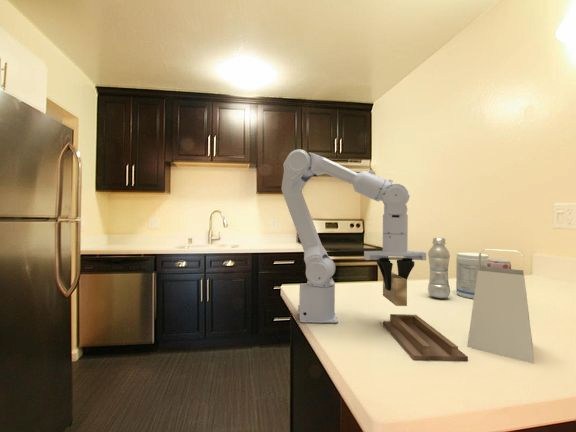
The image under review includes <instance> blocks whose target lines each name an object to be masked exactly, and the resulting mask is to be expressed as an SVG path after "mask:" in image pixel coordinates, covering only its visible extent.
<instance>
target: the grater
mask: <svg viewBox="0 0 576 432" xmlns="http://www.w3.org/2000/svg"><path fill="white" fill-rule="evenodd" d="M485 250H486V251H498V252H499V251H500V252H501V251H502V252H515V253H516V252H517V253H519V255H520V256H521V257H522V258H524V255H523V253H521V252H520V251H519V250H516V249H500V248H484V249H483V250H482V252H484V251H485ZM482 252H479V253H480V254H479V270H478V273H477V280H476V287H475V294H474V299H473V302H472V309H471V316H470V324H469V331H468V337H467V344H466V345H467V346H466V347H467V348H471V349H474V350H479V351H482V352H485V353H490V354H494V355H499V356H503V357H505V358H510V359H514V360H518V361H522V362H527V363H530V364H534V363H535V361H534V345H533V344H534V343H533V335H532V330H531V329H532V328H531V320H530V312H529V304H528V296H527V287H526V286H527V285H526V280H525V270H524V263H525V262H524V260H523V269H513V268H511V269H504V268H494V267H483V266H482V267H481V254H482Z"/></svg>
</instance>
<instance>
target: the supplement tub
mask: <svg viewBox="0 0 576 432" xmlns="http://www.w3.org/2000/svg"><path fill="white" fill-rule="evenodd" d="M480 253H481V252H463V251H462V252H457V253H456V267H455V268H456V273H455V275H456V277H455V279H456V281H455V282H456V287H455V288H456V290H455V292H456V295H458V296H460V297H463V298H467V299H471V300H474V294H475V287H476V280H477V273H478V270H479V254H480ZM488 259H489V255H488V254H485V253H481V267H482V266H483V267H487V261H488Z"/></svg>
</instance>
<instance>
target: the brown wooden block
mask: <svg viewBox="0 0 576 432" xmlns="http://www.w3.org/2000/svg"><path fill="white" fill-rule="evenodd" d="M382 297H384V298H385V299H386V300H388V301H389V302H391V303H392V304H393V305H394V306H396V307H408V305H407V304H408V278H407V279H405V278H403V277H401V276H399V275H398V273H397V274H396V273H395V272H392V273H391V290H387V289H385V283H384V279H383V278H382Z"/></svg>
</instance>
